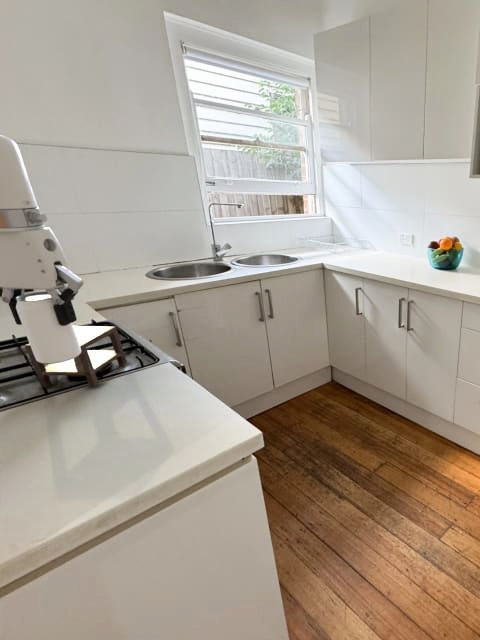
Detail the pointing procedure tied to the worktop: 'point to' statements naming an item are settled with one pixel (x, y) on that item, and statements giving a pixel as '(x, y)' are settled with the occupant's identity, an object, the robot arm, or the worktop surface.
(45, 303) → the can
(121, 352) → the shelf
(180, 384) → the worktop surface
